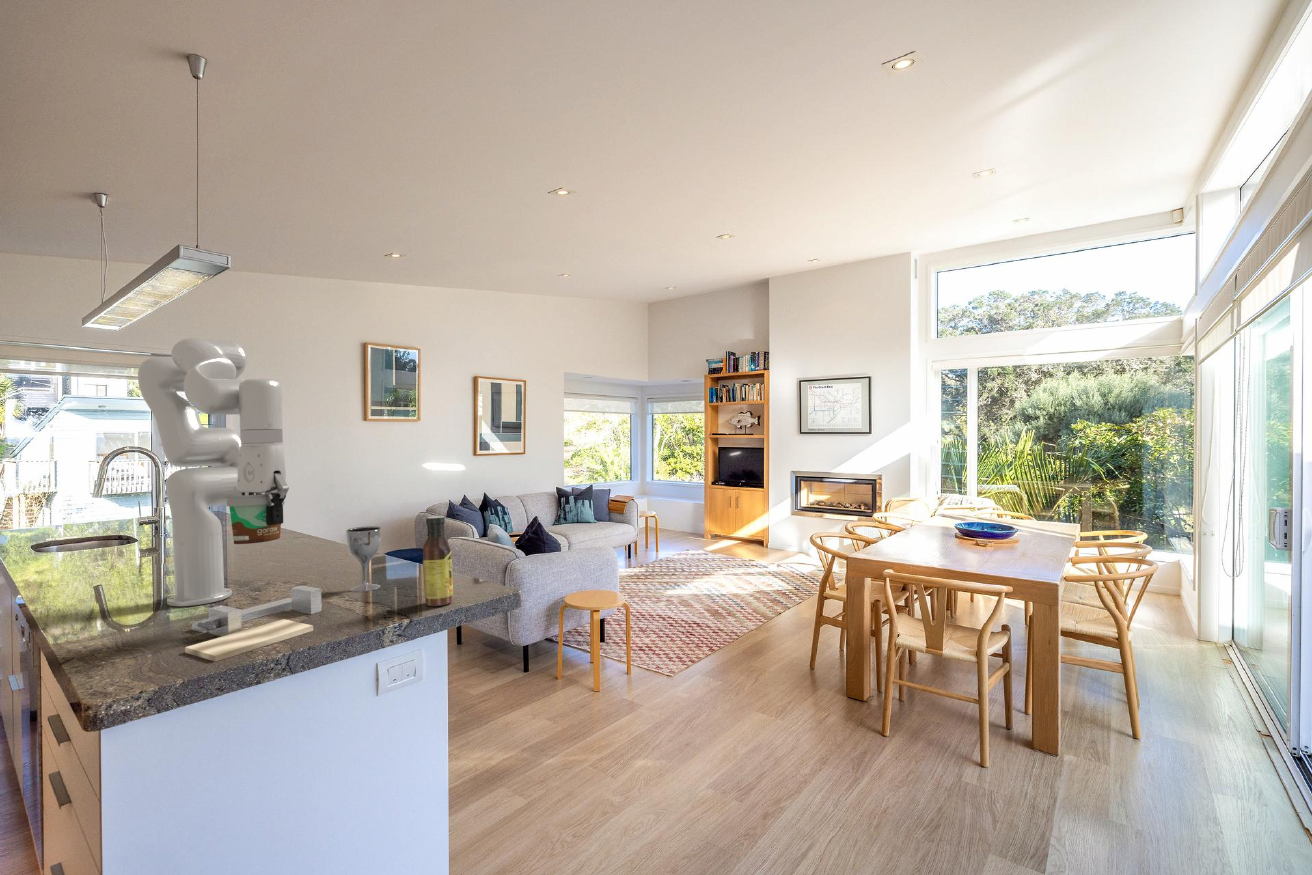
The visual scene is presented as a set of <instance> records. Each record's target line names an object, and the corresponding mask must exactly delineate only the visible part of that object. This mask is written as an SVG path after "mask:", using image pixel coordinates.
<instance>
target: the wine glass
mask: <svg viewBox="0 0 1312 875" xmlns="http://www.w3.org/2000/svg"><path fill="white" fill-rule="evenodd" d="M345 532H346V533H345V534H346V543H347V548H348V551H349V553H350V554H351V556H353V557H354V558H355V559H356V560H357V561H358V562H359V563H360V566H361V568H362V574H363V583H362V584H359V585H356V586H353V587H351V588H350V589H349V591H350V592H353V593H354V592H355V593H362V592H363V593H364V592H365V593H366V592H370V591H375V590H378V589H380V588H381V587H382V586H381V585H380V584H377V583H369V582H368V567H369V564H370V562H371V560H372V559H373V558H374V556H375V555H376V554H377V553H378V551H379V549H380V546H381V540H382V527H381V526H378V525H377V526H373V525H372V526H370V525H369V526H368V525H367V526H359V527H358V526H357V527H352V528H348V529H346V531H345Z"/></svg>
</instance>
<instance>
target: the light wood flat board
mask: <svg viewBox="0 0 1312 875" xmlns="http://www.w3.org/2000/svg"><path fill="white" fill-rule="evenodd" d="M313 631H314V625H312V624H307V623H302V622H299V621H293V620H290V619H284V618H282V619H280V620H275V621H272V622H269V623H264V624H261V625H259V626H255V627H251V628H247V629H244V630H242V631H240V632H237V633H233V634H230V635H226V636H223V637H222V636H218V637H217V638H212V639H209V640H207V641H206V640H205V641H202V642H198V643H195V644H192V645H191V644H190V645H188V646H186V647H185V649H184V650H185V651H184V652H185V653H186V654H189V655H192V656H196V657H199V658H201V659H205V660H209V661H213V662H216V663H217V662H218V661H221V660H224V659H229V658H231V657H234V656H238V655H241V654H244V653H247V652H250V651H254V650H256V649H259V648H260V649H261V648H262V647H266V646H269V645H272V644H275V643H279V642H281V641H285V640H288V639H293V638H294V637H298V636H300V635H304V634H306V633H310V632H313Z"/></svg>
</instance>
